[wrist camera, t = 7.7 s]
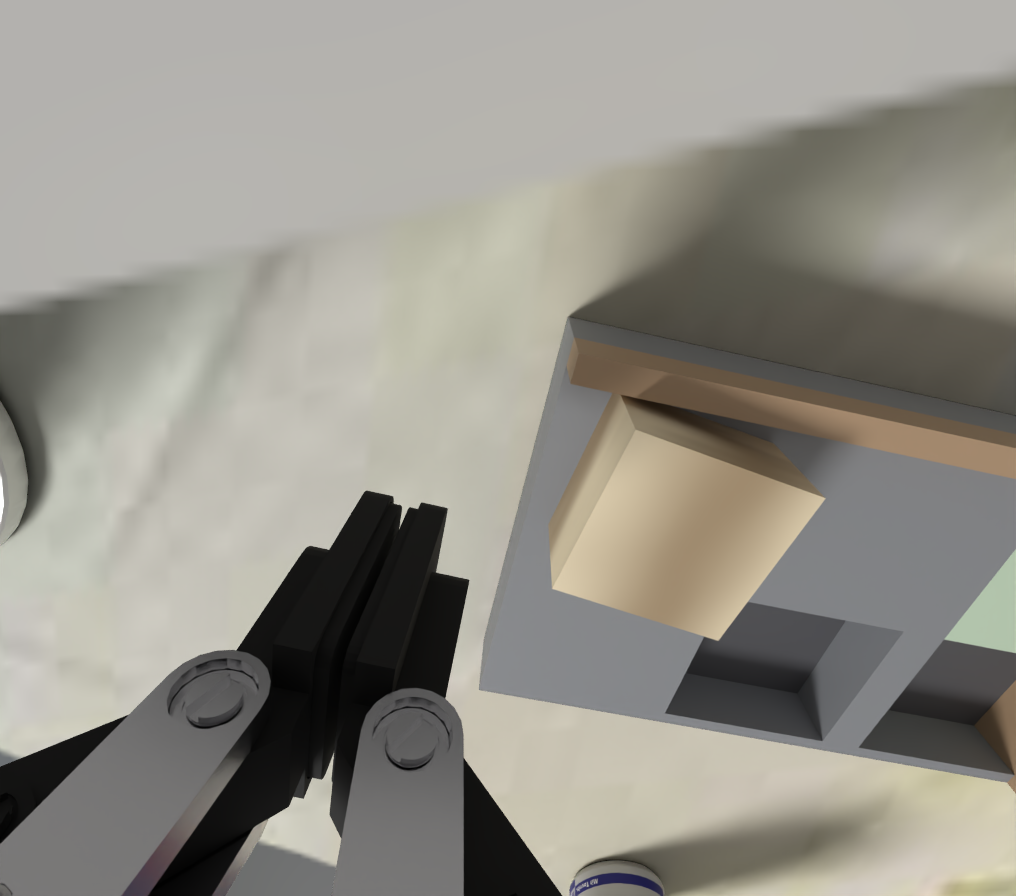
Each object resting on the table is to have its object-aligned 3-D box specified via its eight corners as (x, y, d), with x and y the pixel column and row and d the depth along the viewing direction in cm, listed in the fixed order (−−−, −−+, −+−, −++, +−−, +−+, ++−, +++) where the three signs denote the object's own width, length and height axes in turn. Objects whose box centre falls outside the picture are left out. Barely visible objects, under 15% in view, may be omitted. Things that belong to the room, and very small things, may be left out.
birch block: (548, 524, 17) (552, 588, 14) (616, 384, 15) (636, 429, 12) (689, 570, 18) (718, 640, 15) (773, 443, 15) (825, 498, 13)
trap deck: (483, 639, 23) (473, 738, 19) (568, 316, 16) (580, 359, 12) (982, 730, 24) (1074, 840, 20) (1232, 463, 18) (1437, 545, 14)
